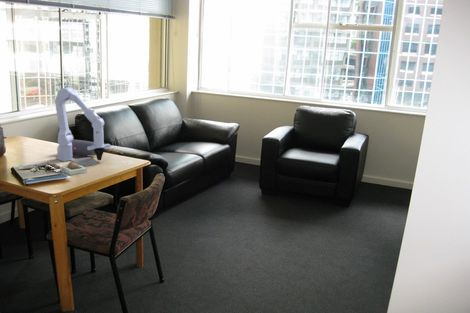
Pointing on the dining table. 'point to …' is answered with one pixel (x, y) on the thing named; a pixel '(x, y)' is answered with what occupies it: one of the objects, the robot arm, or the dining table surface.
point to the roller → (73, 166)
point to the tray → (76, 171)
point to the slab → (85, 161)
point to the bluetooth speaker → (82, 148)
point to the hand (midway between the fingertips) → (99, 160)
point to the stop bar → (53, 165)
